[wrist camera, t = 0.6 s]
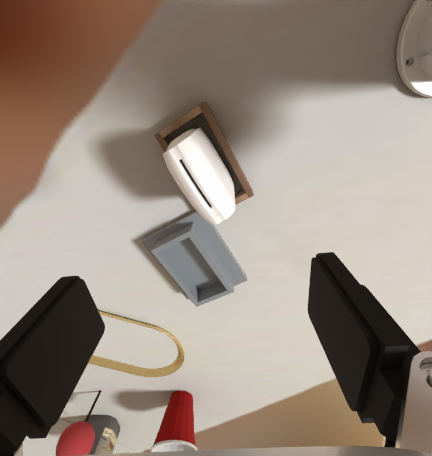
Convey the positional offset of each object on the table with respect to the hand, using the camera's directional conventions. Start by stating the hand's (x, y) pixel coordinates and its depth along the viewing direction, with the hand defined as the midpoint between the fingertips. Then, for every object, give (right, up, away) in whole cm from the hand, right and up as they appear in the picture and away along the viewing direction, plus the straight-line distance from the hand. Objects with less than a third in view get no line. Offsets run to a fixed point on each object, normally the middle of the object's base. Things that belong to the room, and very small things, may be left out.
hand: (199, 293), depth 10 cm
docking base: (-3, -3, +32) cm, 32 cm away
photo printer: (0, +12, +24) cm, 27 cm away
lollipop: (-32, -43, +55) cm, 76 cm away
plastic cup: (-8, -43, +54) cm, 70 cm away
